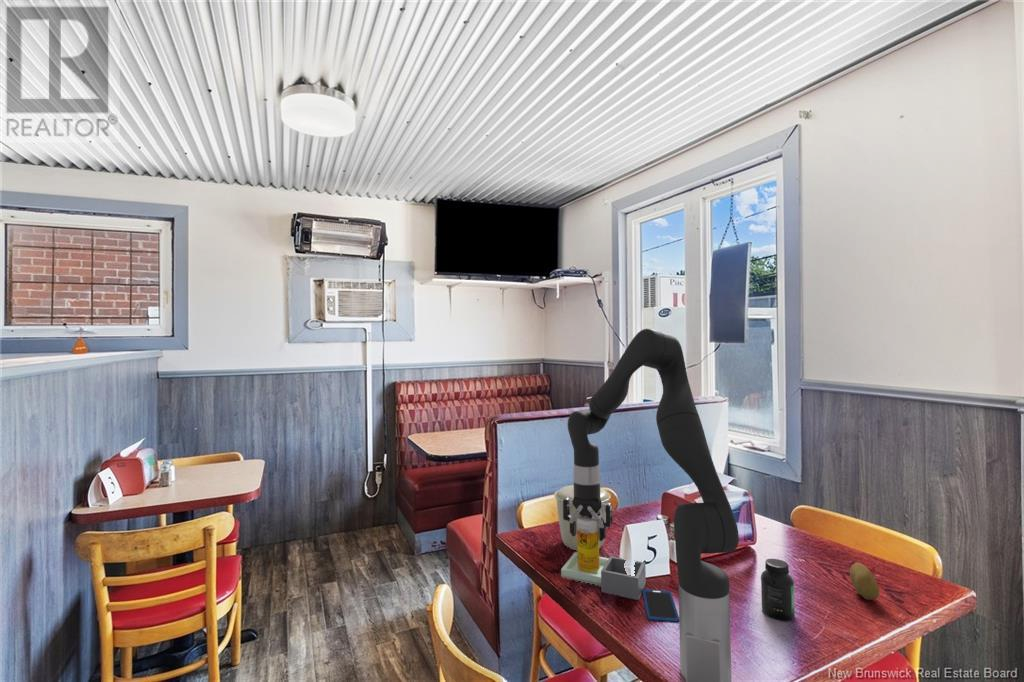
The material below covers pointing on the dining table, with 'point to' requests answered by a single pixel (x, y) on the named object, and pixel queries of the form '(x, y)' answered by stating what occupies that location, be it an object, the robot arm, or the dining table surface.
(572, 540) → the canister
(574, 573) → the tray
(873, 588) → the potato
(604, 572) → the holder
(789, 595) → the supplement bottle
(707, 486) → the robot arm
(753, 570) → the dining table surface
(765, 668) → the dining table surface
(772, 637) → the dining table surface
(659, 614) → the cell phone
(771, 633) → the dining table surface
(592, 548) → the beer can
